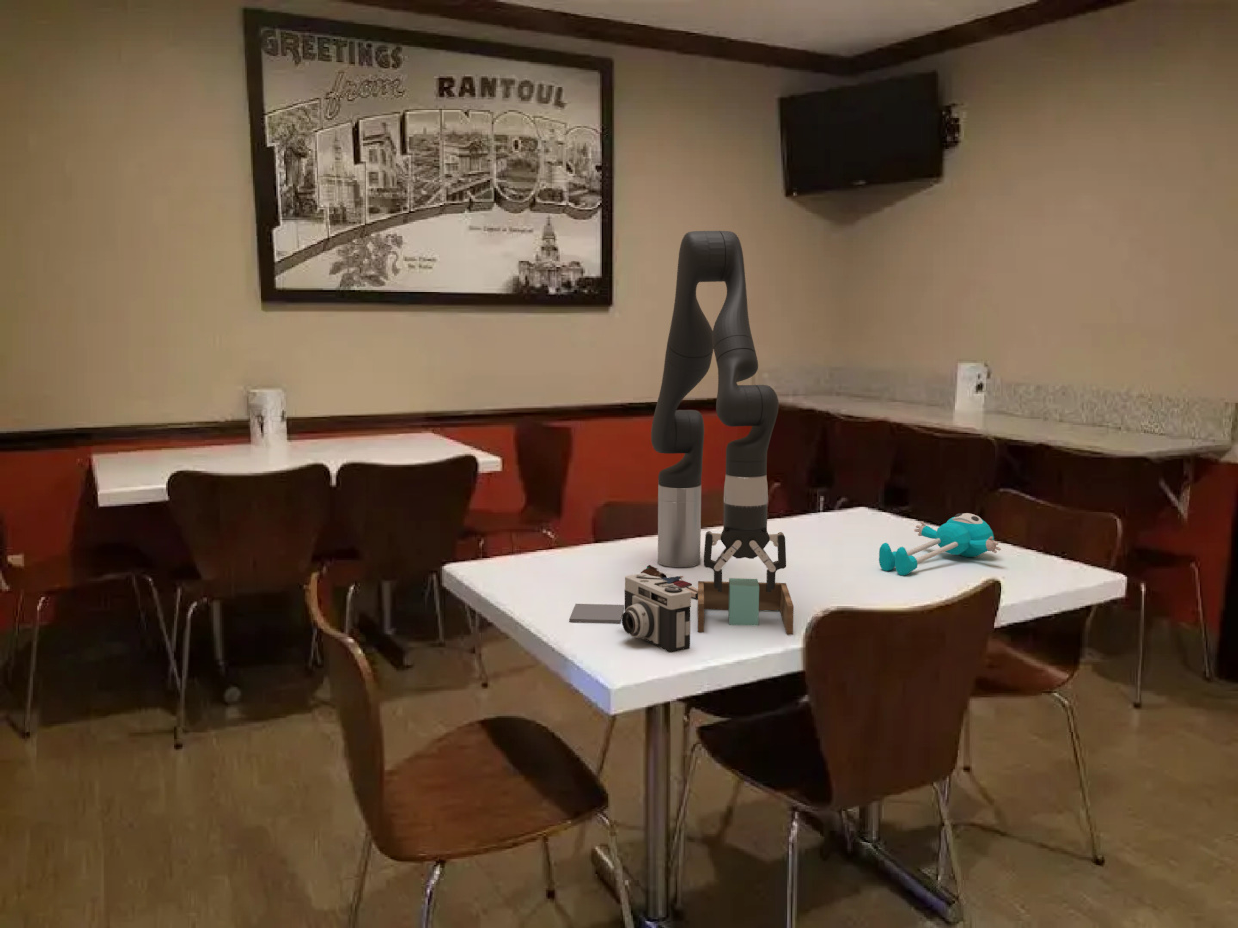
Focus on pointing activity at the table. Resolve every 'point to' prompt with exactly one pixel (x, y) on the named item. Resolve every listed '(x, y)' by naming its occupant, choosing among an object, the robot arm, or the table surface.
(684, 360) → the robot arm
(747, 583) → the block
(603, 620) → the mat
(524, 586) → the table surface
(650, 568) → the toy
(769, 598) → the bay
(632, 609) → the camera
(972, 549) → the toy
